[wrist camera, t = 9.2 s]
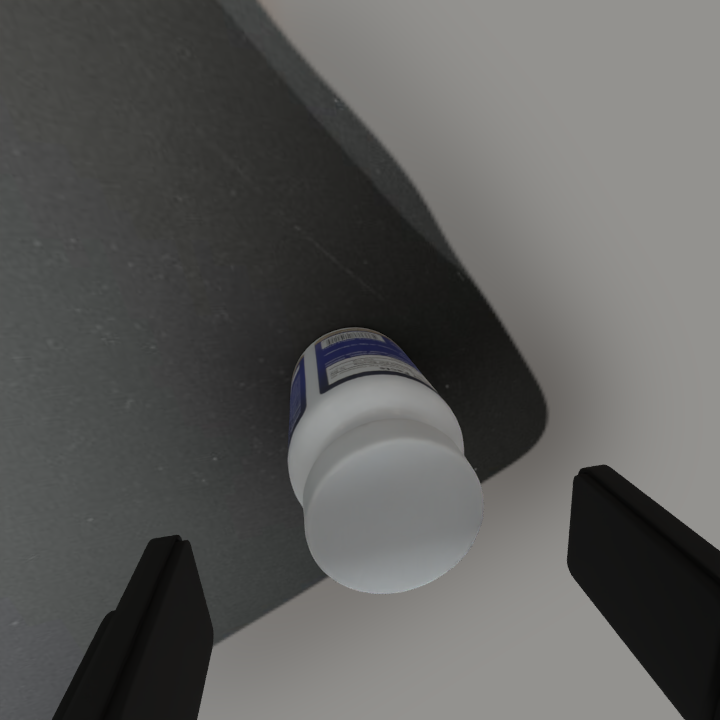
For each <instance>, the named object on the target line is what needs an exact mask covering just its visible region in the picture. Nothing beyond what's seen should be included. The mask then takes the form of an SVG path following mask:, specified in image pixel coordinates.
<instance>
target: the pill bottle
mask: <svg viewBox="0 0 720 720" xmlns="http://www.w3.org/2000/svg"><path fill="white" fill-rule="evenodd" d="M288 435H289V439H288V469H289V476H290V481H291V484H292V487H293V490H294V492H295V495H296V497H297V499H298V500H299V502H300V504H301V505H302V507H303V511H304V526H305V535H306V540H307V544H308V547H309V550H310V552H311V554H312V556H313V558H314V560H315V561H316V563H317V564H318V565H319V567H320V568H321V569H322V570H323V571H324V572H325V573H326V574H327V575H328V576H329V577H331V578H332V579H333V580H335V581H336V582H338V583H340V584H342V585H344V586H346V587H348V588H351V589H354V590H357V591H361V592H367V593H377V594H390V593H397V592H404V591H408V590H412V589H415V588H418V587H421V586H423V585H426V584H427V583H430V582H432V581H433V580H435V579H437V578H439V577H440V576H442V575H444V574H445V573H446V572H448V571H449V570H450V569H451V568H453V567H454V566H455V565H456V564H457V563H458V562H459V561H460V560H461V559H462V558H463V557H464V556H465V554H466V553H467V552H468V551H469V549H470V547H471V546H472V544H473V543H474V541H475V539H476V537H477V534H478V532H479V529H480V526H481V524H482V519H483V512H484V511H483V510H484V500H483V491H482V488H481V484H480V482H479V479H478V477H477V475H476V473H475V471H474V470H473V468H472V467H471V465H470V463H469V462H468V461H467V459H466V458H465V456H464V444H463V437H462V433H461V429H460V426H459V424H458V421H457V419H456V417H455V415H454V414H453V412H452V410H451V409H450V407H449V406H448V405H447V403H446V402H445V400H444V399H443V398H442V397H441V396H440V395H439V393H438V392H437V391H436V390H435V389H434V388H433V386H432V385H431V384H430V383H429V382H428V381H427V379H426V378H425V377H424V376H423V375H422V373H421V372H420V371H419V370H418V368H417V367H416V366H415V365H414V364H413V362H412V361H411V360H410V359H409V357H408V356H407V355H406V354H405V353H404V351H403V350H402V349H401V348H400V347H399V346H398V345H397V344H396V343H395V342H394V341H392V340H391V339H390V338H388V337H387V336H385V335H383V334H381V333H379V332H376V331H374V330H370V329H366V328H358V327H352V328H343V329H339V330H335V331H332V332H330V333H327V334H325V335H324V336H322V337H320V338H319V339H317V340H316V341H315V342H313V343H312V344H311V345H310V346H309V347H308V348H307V349H306V350H305V351H304V353H303V354H302V355H301V357H300V359H299V360H298V362H297V364H296V367H295V369H294V372H293V376H292V382H291V395H290V419H289V434H288Z"/></svg>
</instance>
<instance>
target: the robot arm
mask: <svg viewBox="0 0 720 720" xmlns="http://www.w3.org/2000/svg"><path fill="white" fill-rule="evenodd" d="M568 543H569V544H568V555H567V564H568V568H569V571H570V573H571V575H572V576H573V578H574V579H575V580H576V582H577V583H578V584H579V586H580V587H581V588H582V589H583V591H584V592H585V593H586V594H587V596H588V597H589V598H590V600H591V601H592V602H593V603H594V605H595V606H596V607H597V608H598V610H599V611H600V612H601V614H602V615H603V616H604V617H605V619H606V620H607V621H608V622H609V624H610V625H611V626H612V628H613V629H614V630H615V631H616V633H617V634H618V635H619V637H620V638H621V639H622V640H623V642H624V643H625V644H626V645H627V647H628V648H629V649H630V651H631V652H632V653H633V654H634V656H635V657H636V658H637V659H638V661H639V662H640V663H641V665H642V666H643V667H644V668H645V670H646V671H647V672H648V674H649V675H650V676H651V677H652V679H653V680H654V681H655V682H656V684H657V685H658V686H659V688H660V689H661V690H662V691H663V692H664V694H665V695H666V696H667V698H668V699H669V700H670V701H671V703H672V704H673V705H674V707H675V708H676V709H677V710H678V712H679V713H680V714H681V716H682V717H683V718H684V719H685V720H720V551H719V550H718V549H716V548H715V547H714V546H712V545H711V544H710V543H709V542H707V541H706V540H705V539H703V538H702V537H701V536H699V535H698V534H697V533H695V532H694V531H693V530H692V529H690V528H689V527H688V526H686V525H685V524H684V523H682V522H681V521H680V520H679V519H677V518H676V517H675V516H673V515H672V514H671V513H669V512H668V511H667V510H665V509H664V508H663V507H662V506H660V505H659V504H658V503H656V502H655V501H654V500H652V499H651V498H650V497H648V496H647V495H646V494H644V493H643V492H642V491H641V490H639V489H638V488H637V487H635V486H634V485H633V484H632V483H630V482H629V481H628V480H626V479H625V478H624V477H622V476H621V475H620V474H618V473H617V472H616V471H615V470H613V469H612V468H611V467H609V466H607V465H599V466H592V467H586V468H582V469H580V471H579V473H578V475H577V476H575V477H574V480H573V491H572V504H571V518H570V529H569V542H568ZM212 647H213V627H212V623H211V619H210V615H209V612H208V608H207V604H206V600H205V597H204V593H203V589H202V586H201V582H200V578H199V574H198V571H197V567H196V563H195V559H194V556H193V552H192V548H191V545H190V542H189V541H188V540H184V541H182V539H181V537H180V536H179V535H173V536H167V537H161V538H155V539H152V540H150V541H149V543H148V545H147V547H146V549H145V551H144V553H143V555H142V557H141V559H140V561H139V563H138V565H137V567H136V569H135V571H134V573H133V575H132V577H131V580H130V582H129V584H128V586H127V588H126V590H125V592H124V594H123V596H122V598H121V600H120V602H119V604H118V606H117V608H116V610H115V611H111V612H110V613H108V614H107V615H106V616H105V618H104V619H103V621H102V622H101V624H100V626H99V628H98V630H97V632H96V634H95V636H94V638H93V640H92V642H91V644H90V646H89V648H88V650H87V652H86V654H85V656H84V658H83V660H82V662H81V664H80V665H79V667H78V669H77V671H76V673H75V675H74V677H73V679H72V681H71V683H70V685H69V687H68V689H67V691H66V693H65V695H64V697H63V699H62V701H61V703H60V705H59V707H58V709H57V711H56V713H55V715H54V717H53V718H52V720H197V717H198V713H199V708H200V703H201V698H202V694H203V689H204V685H205V680H206V675H207V670H208V666H209V661H210V656H211V652H212Z"/></svg>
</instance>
